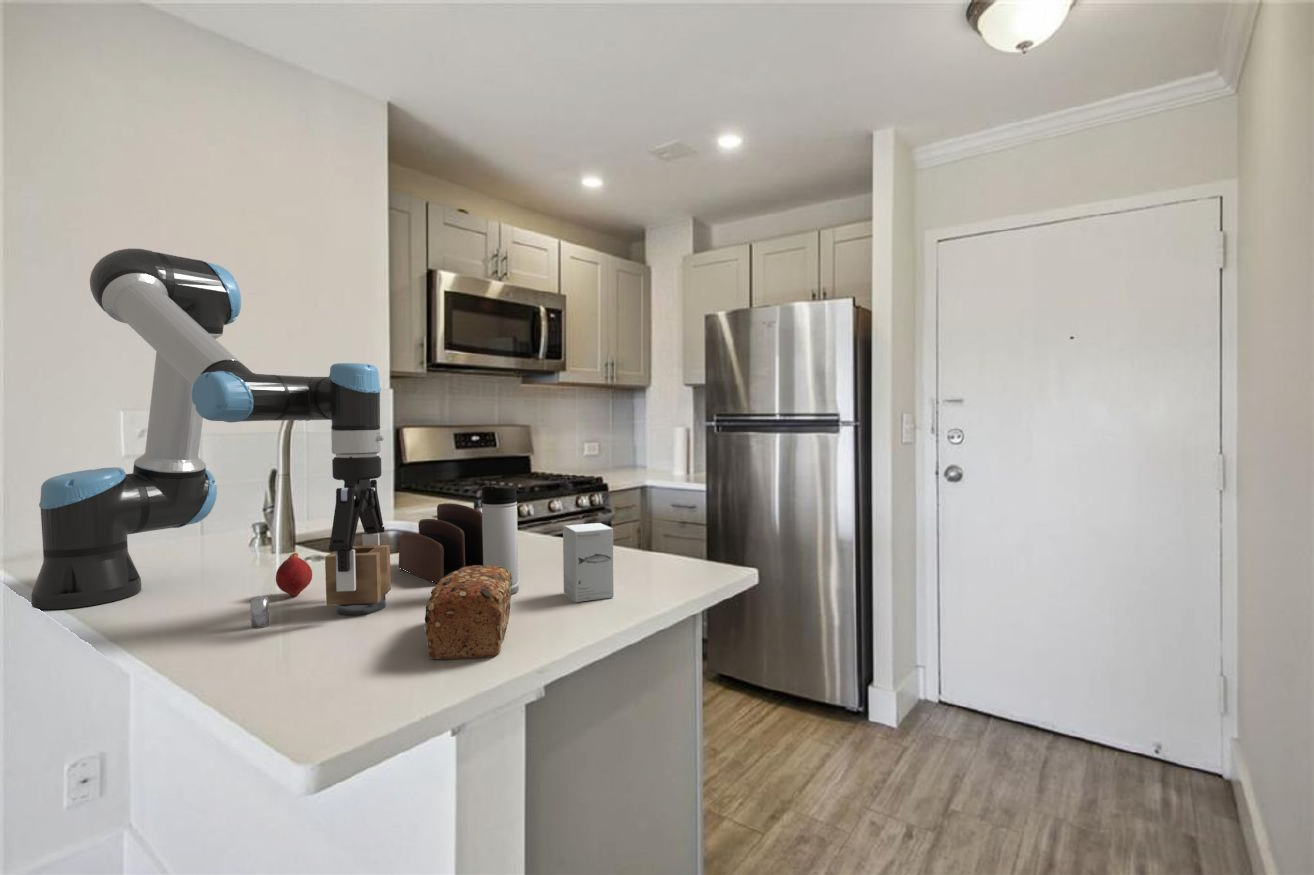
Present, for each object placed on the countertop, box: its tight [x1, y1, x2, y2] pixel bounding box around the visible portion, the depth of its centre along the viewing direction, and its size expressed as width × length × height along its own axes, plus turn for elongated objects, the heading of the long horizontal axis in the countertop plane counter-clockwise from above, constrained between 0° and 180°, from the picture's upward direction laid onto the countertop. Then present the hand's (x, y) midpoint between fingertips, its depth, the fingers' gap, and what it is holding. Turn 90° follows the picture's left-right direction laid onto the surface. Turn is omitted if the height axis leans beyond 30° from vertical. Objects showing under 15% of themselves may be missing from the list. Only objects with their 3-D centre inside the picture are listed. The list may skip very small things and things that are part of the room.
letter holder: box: [398, 502, 483, 585], centre depth 134 cm, size 10×20×14 cm, turn 45°
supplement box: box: [562, 522, 615, 604], centre depth 116 cm, size 7×7×13 cm
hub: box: [336, 595, 387, 617], centre depth 110 cm, size 8×8×7 cm
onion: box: [275, 552, 313, 597], centre depth 118 cm, size 6×6×8 cm
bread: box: [424, 565, 512, 661], centre depth 96 cm, size 19×11×10 cm, turn 8°
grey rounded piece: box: [250, 595, 270, 629], centre depth 102 cm, size 2×2×4 cm
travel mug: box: [481, 485, 520, 596], centre depth 119 cm, size 6×7×20 cm
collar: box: [324, 544, 392, 606], centre depth 110 cm, size 8×8×8 cm
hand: (359, 579), depth 110 cm, fingers open, 13 cm apart
